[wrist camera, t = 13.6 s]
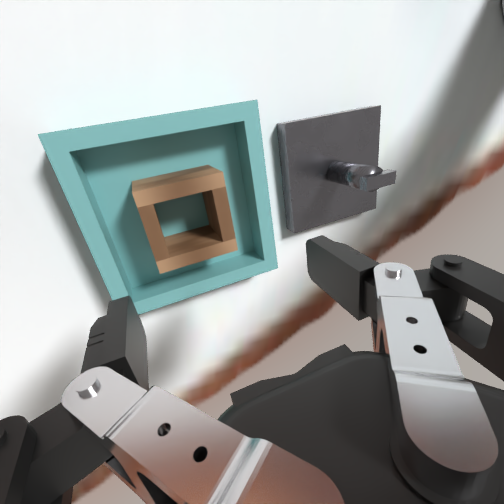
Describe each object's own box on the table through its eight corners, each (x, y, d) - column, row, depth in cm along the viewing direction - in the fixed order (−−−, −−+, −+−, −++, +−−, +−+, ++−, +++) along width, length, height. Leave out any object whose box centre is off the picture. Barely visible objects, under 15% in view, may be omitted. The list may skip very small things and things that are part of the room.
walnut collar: (207, 164, 23) (223, 171, 19) (222, 231, 26) (238, 250, 22) (131, 181, 22) (131, 192, 18) (155, 250, 24) (160, 273, 20)
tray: (241, 103, 23) (257, 99, 20) (263, 253, 30) (277, 267, 27) (51, 133, 20) (37, 134, 17) (122, 298, 26) (121, 320, 23)
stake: (369, 106, 28) (438, 100, 21) (366, 205, 32) (422, 223, 26) (276, 123, 25) (324, 122, 19) (287, 228, 29) (328, 255, 23)
